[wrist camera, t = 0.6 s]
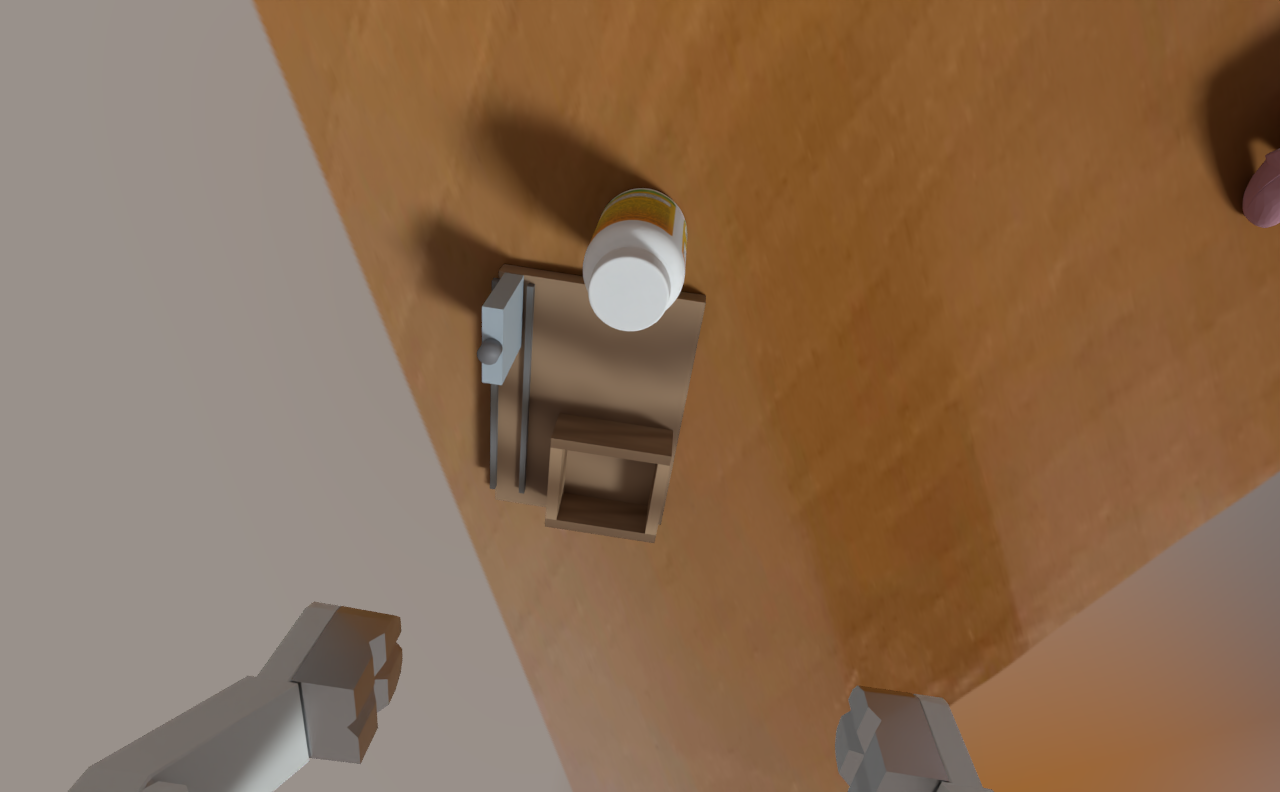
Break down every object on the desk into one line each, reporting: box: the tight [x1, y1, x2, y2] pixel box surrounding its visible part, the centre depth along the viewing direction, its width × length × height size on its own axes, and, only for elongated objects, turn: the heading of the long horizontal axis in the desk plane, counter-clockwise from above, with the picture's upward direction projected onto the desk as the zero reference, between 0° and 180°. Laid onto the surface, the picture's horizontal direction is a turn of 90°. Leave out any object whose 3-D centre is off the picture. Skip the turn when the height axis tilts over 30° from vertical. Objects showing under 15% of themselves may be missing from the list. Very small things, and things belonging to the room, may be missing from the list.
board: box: [490, 264, 706, 543], centre depth 45 cm, size 19×13×4 cm
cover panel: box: [477, 273, 524, 385], centre depth 39 cm, size 5×1×6 cm, turn 172°
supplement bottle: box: [583, 188, 687, 331], centre depth 36 cm, size 5×5×10 cm
